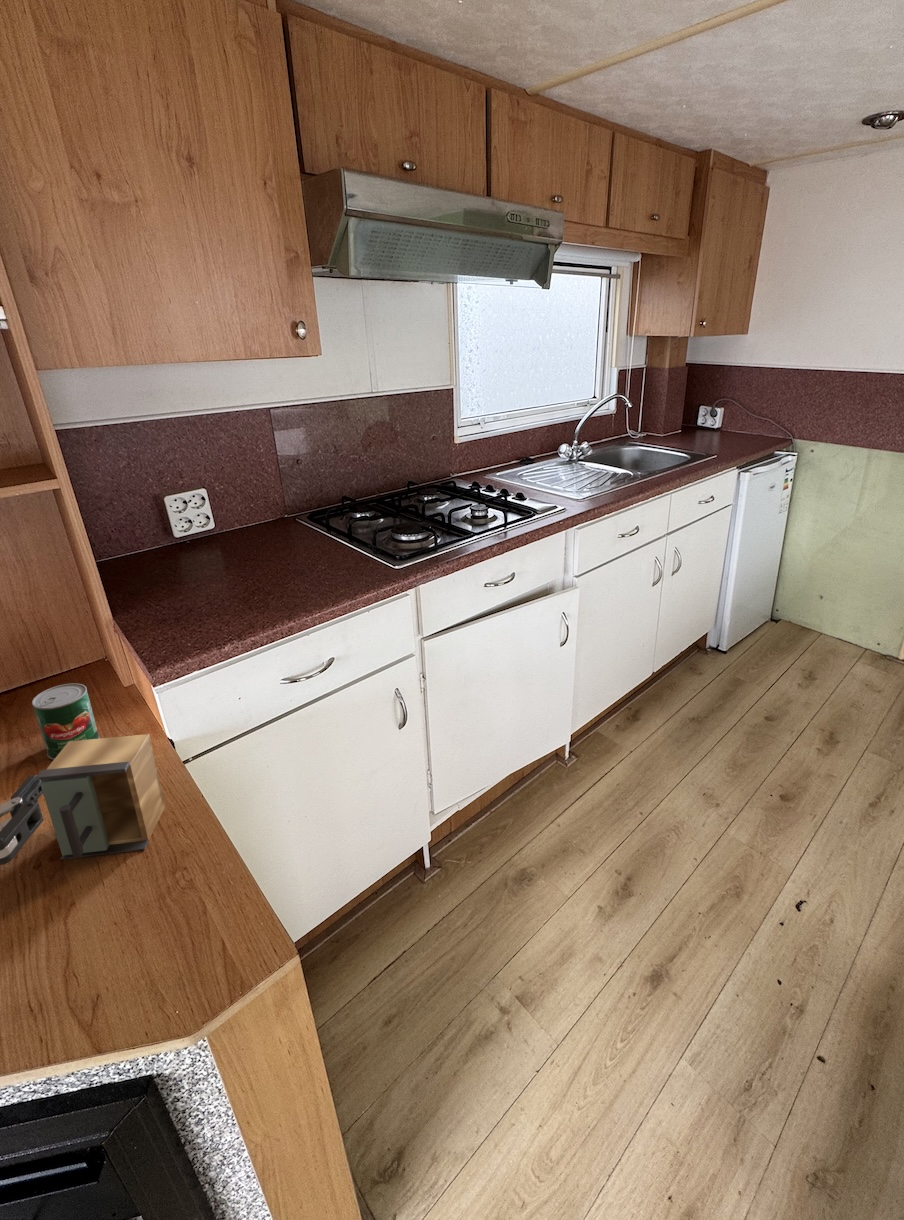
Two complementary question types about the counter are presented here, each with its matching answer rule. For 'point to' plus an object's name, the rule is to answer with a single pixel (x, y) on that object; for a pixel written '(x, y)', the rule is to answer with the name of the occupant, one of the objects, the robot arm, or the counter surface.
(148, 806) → the cabinet
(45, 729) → the canned tomato
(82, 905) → the counter surface
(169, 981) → the counter surface
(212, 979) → the counter surface
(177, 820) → the counter surface
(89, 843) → the slide door
